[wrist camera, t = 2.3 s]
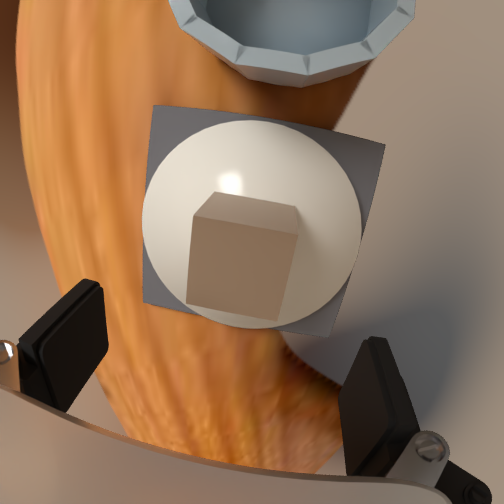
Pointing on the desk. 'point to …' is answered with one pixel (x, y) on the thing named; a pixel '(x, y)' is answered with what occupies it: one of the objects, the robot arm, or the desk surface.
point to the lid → (251, 224)
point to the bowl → (294, 35)
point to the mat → (336, 144)
